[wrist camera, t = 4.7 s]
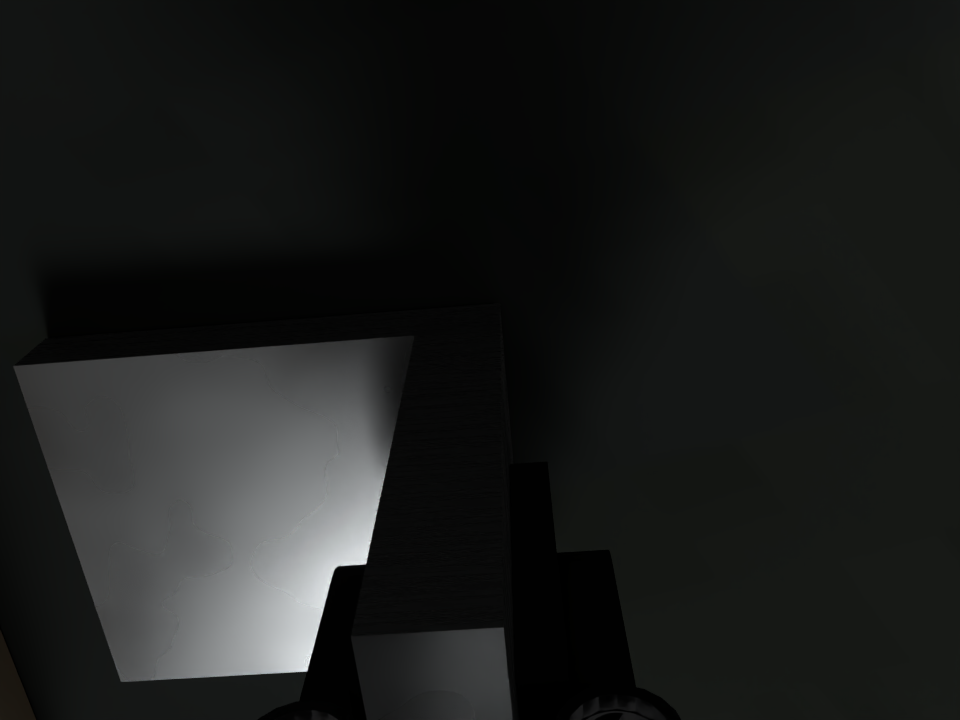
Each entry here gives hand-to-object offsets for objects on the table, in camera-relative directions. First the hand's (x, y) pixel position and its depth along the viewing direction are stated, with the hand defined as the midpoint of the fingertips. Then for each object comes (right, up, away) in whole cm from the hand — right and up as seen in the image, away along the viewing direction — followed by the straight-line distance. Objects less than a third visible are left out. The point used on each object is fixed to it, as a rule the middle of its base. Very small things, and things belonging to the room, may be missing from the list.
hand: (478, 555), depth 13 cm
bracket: (-3, +1, +2) cm, 4 cm away
